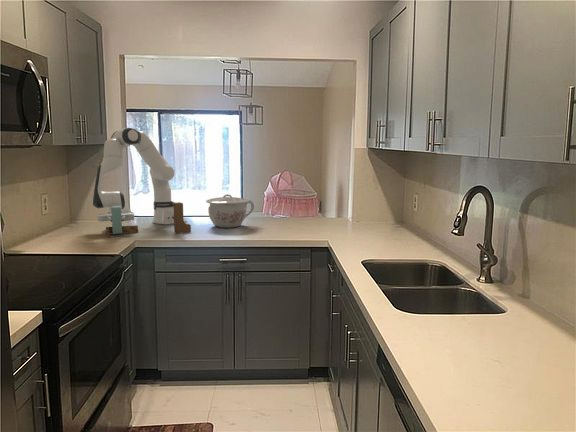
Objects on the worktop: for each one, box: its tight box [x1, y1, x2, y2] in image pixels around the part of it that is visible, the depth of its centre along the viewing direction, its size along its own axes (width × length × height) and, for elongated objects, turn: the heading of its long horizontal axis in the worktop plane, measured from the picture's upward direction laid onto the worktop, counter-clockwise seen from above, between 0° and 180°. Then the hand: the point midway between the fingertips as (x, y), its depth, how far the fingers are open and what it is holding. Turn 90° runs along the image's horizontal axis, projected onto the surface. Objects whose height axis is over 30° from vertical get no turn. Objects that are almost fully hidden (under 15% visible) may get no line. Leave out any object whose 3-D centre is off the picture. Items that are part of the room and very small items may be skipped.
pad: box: [109, 233, 126, 238], centre depth 280 cm, size 8×8×1 cm
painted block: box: [111, 206, 123, 234], centre depth 279 cm, size 5×5×15 cm
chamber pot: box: [205, 194, 255, 229], centre depth 312 cm, size 28×28×21 cm
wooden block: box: [173, 201, 192, 234], centre depth 290 cm, size 9×4×18 cm, turn 123°
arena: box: [105, 225, 139, 239], centre depth 282 cm, size 18×13×4 cm
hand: (116, 219), depth 278 cm, fingers closed on painted block, 5 cm apart
